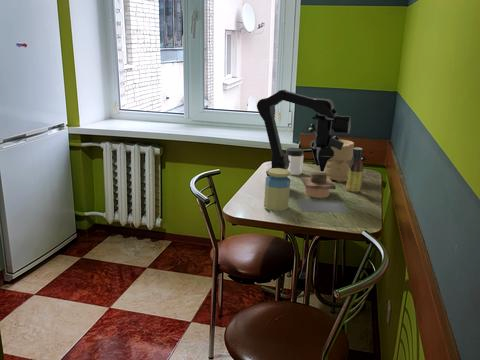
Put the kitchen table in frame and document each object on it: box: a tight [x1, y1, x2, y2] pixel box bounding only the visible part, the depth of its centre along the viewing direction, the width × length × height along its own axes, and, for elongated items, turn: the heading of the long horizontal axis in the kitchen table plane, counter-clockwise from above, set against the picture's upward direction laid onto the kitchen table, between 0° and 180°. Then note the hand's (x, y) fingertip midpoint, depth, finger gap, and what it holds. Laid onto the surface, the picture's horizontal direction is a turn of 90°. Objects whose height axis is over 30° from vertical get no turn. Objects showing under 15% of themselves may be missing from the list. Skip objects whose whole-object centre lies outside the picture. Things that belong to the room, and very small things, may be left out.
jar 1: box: [263, 167, 291, 212], centre depth 166 cm, size 9×9×15 cm
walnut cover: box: [300, 171, 337, 190], centre depth 184 cm, size 12×12×5 cm
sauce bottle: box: [345, 147, 364, 194], centre depth 190 cm, size 7×6×20 cm
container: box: [323, 138, 355, 183], centre depth 211 cm, size 13×13×18 cm
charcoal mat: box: [296, 198, 350, 214], centre depth 172 cm, size 18×14×1 cm
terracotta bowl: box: [304, 186, 331, 199], centre depth 186 cm, size 10×10×5 cm
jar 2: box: [285, 147, 304, 176], centre depth 218 cm, size 9×8×12 cm
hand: (319, 168), depth 183 cm, fingers open, 9 cm apart
